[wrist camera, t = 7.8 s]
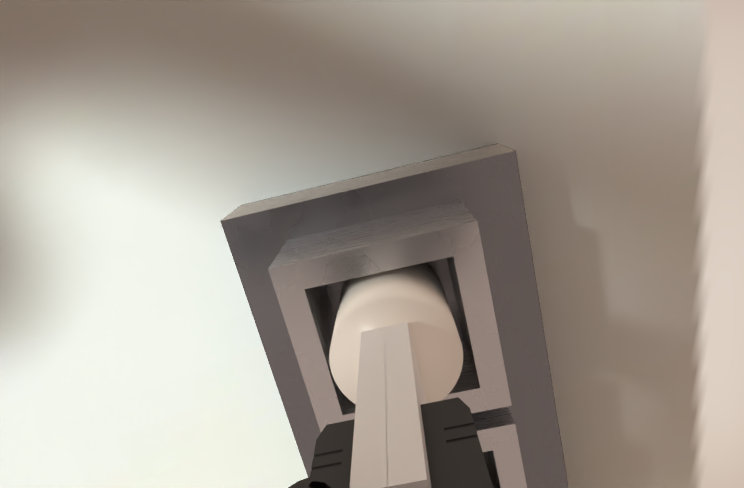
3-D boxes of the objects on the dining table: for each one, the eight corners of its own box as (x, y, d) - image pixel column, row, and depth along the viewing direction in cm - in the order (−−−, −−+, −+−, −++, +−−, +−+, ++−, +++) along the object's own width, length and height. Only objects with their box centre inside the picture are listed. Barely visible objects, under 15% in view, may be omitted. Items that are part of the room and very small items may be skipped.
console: (240, 205, 23) (187, 246, 16) (497, 143, 22) (545, 162, 15) (372, 609, 30) (370, 744, 24) (569, 577, 29) (621, 709, 23)
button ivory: (328, 266, 20) (313, 313, 15) (433, 242, 19) (449, 284, 15) (354, 359, 21) (347, 427, 17) (454, 338, 21) (474, 402, 16)
